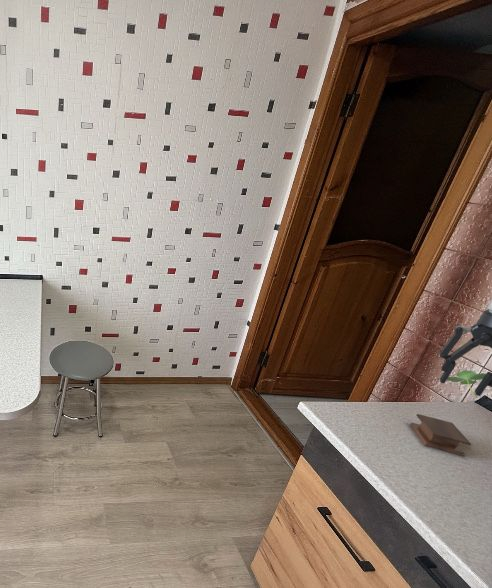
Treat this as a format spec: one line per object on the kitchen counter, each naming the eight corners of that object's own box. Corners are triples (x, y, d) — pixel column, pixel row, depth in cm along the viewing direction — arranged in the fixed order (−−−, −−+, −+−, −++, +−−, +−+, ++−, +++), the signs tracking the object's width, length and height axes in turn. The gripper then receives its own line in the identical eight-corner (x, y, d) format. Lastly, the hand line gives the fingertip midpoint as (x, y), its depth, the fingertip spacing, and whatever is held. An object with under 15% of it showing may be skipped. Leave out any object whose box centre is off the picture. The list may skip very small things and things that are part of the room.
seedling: (457, 404, 94) (448, 383, 98) (500, 402, 88) (489, 379, 92) (449, 394, 91) (440, 372, 95) (493, 391, 85) (482, 368, 89)
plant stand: (443, 434, 94) (452, 422, 93) (462, 456, 87) (471, 443, 86) (409, 425, 97) (416, 413, 95) (424, 445, 90) (432, 433, 88)
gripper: (563, 324, 81) (508, 398, 90) (452, 298, 93) (413, 366, 102) (573, 334, 76) (513, 412, 85) (454, 305, 88) (413, 376, 97)
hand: (459, 387), depth 93 cm, fingers closed on seedling, 6 cm apart
